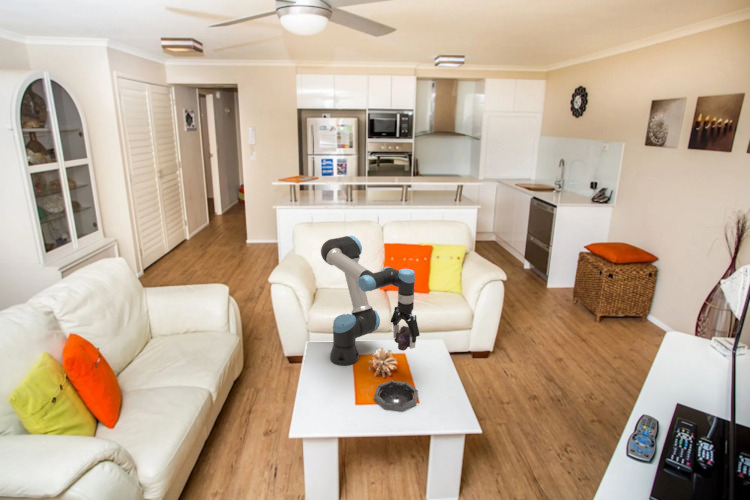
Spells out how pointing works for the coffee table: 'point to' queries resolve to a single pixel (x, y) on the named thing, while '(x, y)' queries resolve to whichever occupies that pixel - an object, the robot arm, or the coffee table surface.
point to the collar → (396, 395)
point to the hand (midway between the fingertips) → (404, 342)
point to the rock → (403, 338)
